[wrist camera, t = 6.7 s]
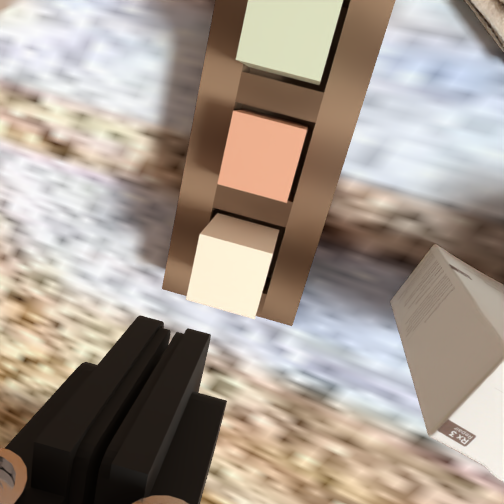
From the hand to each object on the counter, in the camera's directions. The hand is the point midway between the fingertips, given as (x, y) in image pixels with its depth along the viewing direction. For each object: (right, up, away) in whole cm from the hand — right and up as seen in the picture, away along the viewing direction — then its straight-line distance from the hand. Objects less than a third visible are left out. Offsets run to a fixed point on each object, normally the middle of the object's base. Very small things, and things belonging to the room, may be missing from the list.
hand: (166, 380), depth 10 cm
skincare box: (+17, 0, +23) cm, 29 cm away
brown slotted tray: (+3, +10, +21) cm, 23 cm away
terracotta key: (+3, +10, +20) cm, 23 cm away
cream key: (+1, +3, +20) cm, 21 cm away
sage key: (+4, +16, +16) cm, 22 cm away
